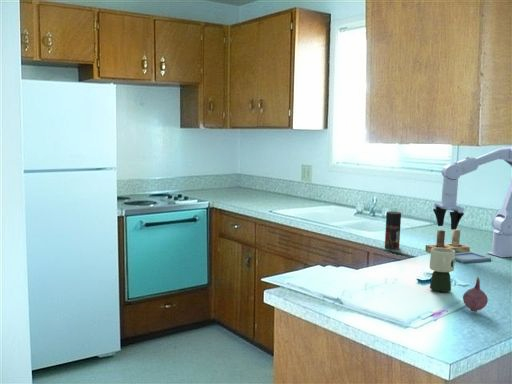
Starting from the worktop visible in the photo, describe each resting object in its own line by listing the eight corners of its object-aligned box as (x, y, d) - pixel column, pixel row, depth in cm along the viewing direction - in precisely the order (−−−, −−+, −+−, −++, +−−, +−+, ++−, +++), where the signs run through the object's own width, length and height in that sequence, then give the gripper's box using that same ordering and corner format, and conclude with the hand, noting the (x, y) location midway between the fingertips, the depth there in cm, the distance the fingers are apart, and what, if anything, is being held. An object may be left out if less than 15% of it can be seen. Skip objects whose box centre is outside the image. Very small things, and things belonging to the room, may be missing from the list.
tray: (471, 254, 216) (471, 251, 216) (490, 260, 207) (491, 257, 207) (444, 257, 210) (444, 254, 210) (462, 263, 201) (463, 260, 201)
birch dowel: (455, 250, 223) (456, 229, 222) (460, 251, 221) (461, 230, 220) (449, 250, 222) (451, 229, 221) (454, 252, 220) (456, 230, 218)
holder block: (455, 248, 227) (455, 242, 226) (469, 252, 219) (470, 246, 219) (425, 250, 221) (425, 245, 220) (438, 255, 213) (439, 249, 213)
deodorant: (388, 245, 229) (390, 211, 227) (401, 247, 225) (403, 212, 224) (382, 247, 225) (384, 212, 223) (395, 250, 221) (397, 214, 219)
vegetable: (490, 316, 144) (493, 280, 142) (468, 316, 143) (471, 280, 142) (479, 308, 150) (482, 274, 149) (458, 308, 149) (461, 274, 148)
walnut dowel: (440, 251, 220) (441, 230, 219) (445, 253, 218) (446, 231, 217) (434, 251, 219) (435, 230, 218) (439, 253, 216) (440, 231, 215)
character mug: (454, 297, 160) (457, 254, 158) (429, 295, 161) (432, 252, 160) (450, 286, 170) (452, 246, 169) (426, 284, 172) (429, 245, 170)
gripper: (429, 192, 220) (426, 224, 221) (454, 196, 206) (452, 231, 208) (442, 191, 222) (440, 224, 224) (468, 196, 209) (466, 230, 211)
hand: (446, 227), depth 216 cm, fingers open, 7 cm apart
